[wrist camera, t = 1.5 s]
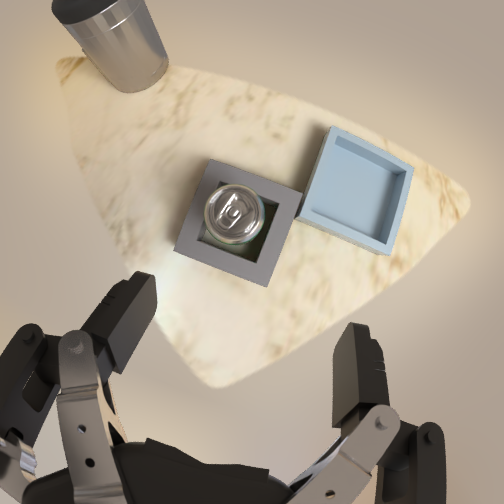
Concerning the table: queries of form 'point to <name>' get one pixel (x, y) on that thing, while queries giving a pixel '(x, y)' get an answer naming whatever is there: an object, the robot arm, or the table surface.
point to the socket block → (273, 241)
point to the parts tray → (356, 192)
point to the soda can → (234, 214)
